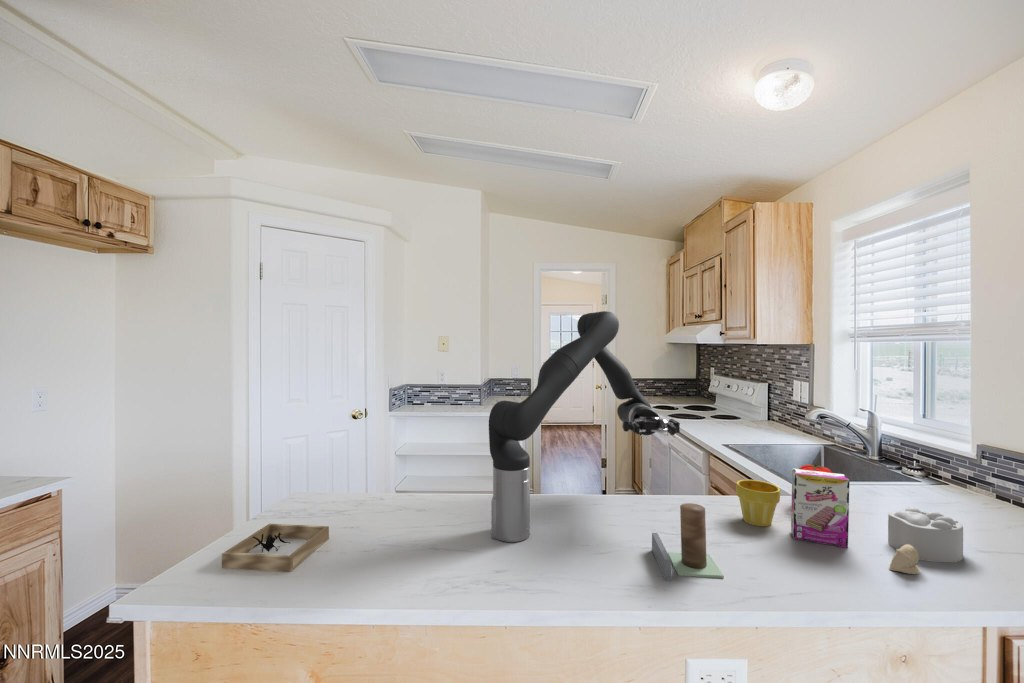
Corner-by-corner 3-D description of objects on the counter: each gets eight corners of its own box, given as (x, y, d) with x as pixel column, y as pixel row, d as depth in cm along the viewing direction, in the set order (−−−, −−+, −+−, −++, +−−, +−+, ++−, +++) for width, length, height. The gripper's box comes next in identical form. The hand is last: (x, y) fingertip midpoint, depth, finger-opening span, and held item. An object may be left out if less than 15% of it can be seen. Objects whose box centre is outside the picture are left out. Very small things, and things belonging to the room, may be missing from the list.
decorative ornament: (924, 569, 95) (924, 544, 95) (909, 580, 90) (909, 554, 90) (899, 561, 98) (900, 537, 98) (884, 571, 94) (884, 546, 94)
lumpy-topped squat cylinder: (881, 540, 108) (881, 504, 108) (937, 541, 108) (937, 506, 108) (917, 561, 98) (917, 522, 98) (979, 563, 97) (980, 523, 97)
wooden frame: (221, 567, 95) (221, 553, 95) (269, 535, 110) (269, 523, 110) (290, 571, 93) (290, 557, 93) (328, 538, 109) (328, 526, 109)
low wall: (665, 579, 90) (665, 560, 90) (651, 549, 103) (651, 532, 103) (671, 580, 90) (671, 560, 90) (657, 550, 103) (657, 532, 103)
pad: (678, 575, 92) (678, 573, 92) (667, 554, 101) (667, 552, 101) (723, 578, 91) (723, 575, 91) (709, 556, 100) (709, 554, 100)
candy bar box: (793, 540, 108) (794, 473, 108) (790, 532, 113) (790, 467, 113) (849, 549, 103) (850, 479, 103) (844, 540, 108) (844, 473, 108)
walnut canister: (684, 568, 94) (683, 511, 94) (679, 556, 99) (677, 502, 99) (709, 569, 93) (708, 512, 93) (702, 557, 98) (701, 503, 98)
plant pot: (788, 529, 114) (789, 491, 114) (748, 529, 114) (748, 492, 114) (765, 514, 124) (765, 479, 124) (728, 514, 124) (729, 479, 124)
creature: (256, 549, 106) (246, 557, 98) (258, 525, 107) (247, 531, 99) (292, 545, 108) (285, 553, 100) (293, 521, 109) (286, 527, 101)
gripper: (618, 405, 128) (626, 415, 112) (669, 406, 127) (685, 416, 110) (618, 431, 128) (626, 444, 112) (669, 432, 127) (685, 446, 110)
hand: (655, 430), depth 111 cm, fingers open, 8 cm apart
